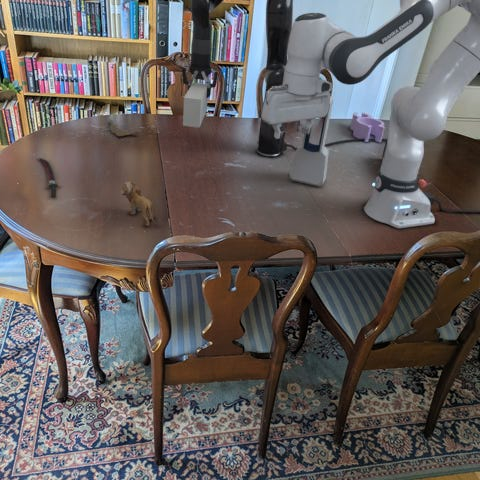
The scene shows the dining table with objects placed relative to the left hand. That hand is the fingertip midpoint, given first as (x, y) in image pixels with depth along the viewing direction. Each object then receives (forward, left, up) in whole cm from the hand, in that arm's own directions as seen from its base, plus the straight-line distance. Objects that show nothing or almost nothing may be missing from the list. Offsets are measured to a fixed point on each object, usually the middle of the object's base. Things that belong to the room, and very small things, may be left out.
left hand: (199, 96), depth 181 cm
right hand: (+10, +68, +10) cm, 69 cm away
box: (+5, +6, -6) cm, 10 cm away
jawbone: (+23, -21, -18) cm, 36 cm away
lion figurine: (+46, +47, -18) cm, 68 cm away
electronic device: (-18, +49, -18) cm, 55 cm away
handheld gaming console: (-55, +55, -18) cm, 80 cm away
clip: (-77, +21, -18) cm, 82 cm away
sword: (+62, +12, -18) cm, 66 cm away
